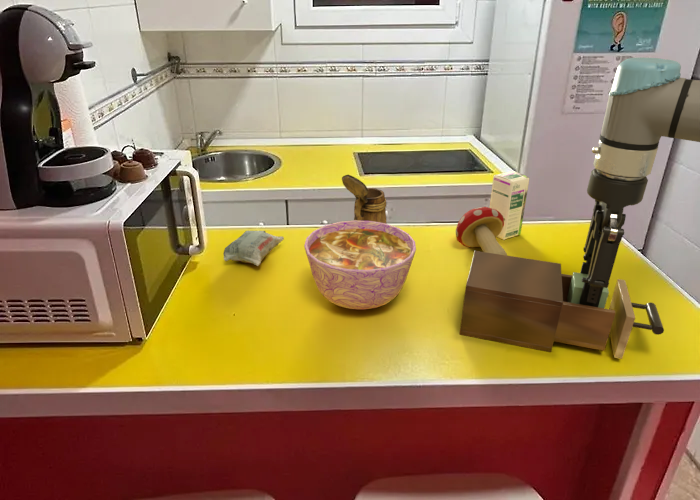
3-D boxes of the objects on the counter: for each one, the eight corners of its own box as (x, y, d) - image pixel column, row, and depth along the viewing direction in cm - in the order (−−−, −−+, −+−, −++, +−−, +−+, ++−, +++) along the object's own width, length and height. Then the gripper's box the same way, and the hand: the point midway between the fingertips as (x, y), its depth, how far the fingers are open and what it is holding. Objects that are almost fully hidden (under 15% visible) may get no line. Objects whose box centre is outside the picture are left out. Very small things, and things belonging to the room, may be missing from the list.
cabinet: (550, 310, 95) (560, 263, 90) (551, 352, 84) (563, 301, 80) (468, 295, 99) (474, 250, 94) (459, 334, 88) (465, 285, 84)
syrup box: (503, 240, 120) (513, 181, 113) (485, 231, 124) (493, 173, 118) (520, 235, 123) (531, 176, 116) (501, 226, 127) (511, 169, 120)
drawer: (645, 323, 90) (658, 285, 86) (657, 365, 80) (672, 324, 76) (532, 304, 95) (540, 266, 91) (531, 341, 85) (540, 301, 81)
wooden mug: (330, 247, 117) (330, 170, 108) (364, 226, 126) (366, 154, 118) (363, 258, 112) (365, 179, 104) (395, 235, 122) (399, 162, 113)
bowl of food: (340, 262, 110) (340, 212, 105) (428, 287, 102) (433, 234, 96) (284, 308, 95) (281, 252, 90) (382, 342, 86) (385, 283, 81)
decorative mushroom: (519, 238, 102) (488, 188, 111) (468, 264, 104) (442, 213, 114) (531, 265, 110) (500, 216, 120) (483, 288, 112) (457, 239, 122)
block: (598, 302, 87) (605, 276, 85) (601, 318, 83) (609, 292, 81) (567, 297, 89) (573, 271, 86) (568, 312, 84) (574, 286, 82)
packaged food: (284, 248, 116) (282, 228, 113) (259, 273, 106) (256, 252, 104) (249, 242, 118) (247, 222, 116) (221, 266, 108) (219, 245, 106)
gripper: (587, 152, 83) (558, 276, 94) (597, 190, 68) (561, 333, 79) (639, 157, 81) (603, 283, 92) (660, 197, 66) (615, 343, 77)
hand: (584, 306), depth 86 cm, fingers closed on block, 5 cm apart
